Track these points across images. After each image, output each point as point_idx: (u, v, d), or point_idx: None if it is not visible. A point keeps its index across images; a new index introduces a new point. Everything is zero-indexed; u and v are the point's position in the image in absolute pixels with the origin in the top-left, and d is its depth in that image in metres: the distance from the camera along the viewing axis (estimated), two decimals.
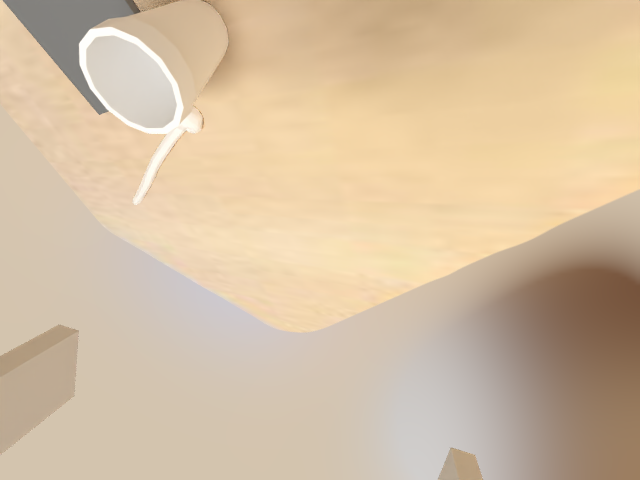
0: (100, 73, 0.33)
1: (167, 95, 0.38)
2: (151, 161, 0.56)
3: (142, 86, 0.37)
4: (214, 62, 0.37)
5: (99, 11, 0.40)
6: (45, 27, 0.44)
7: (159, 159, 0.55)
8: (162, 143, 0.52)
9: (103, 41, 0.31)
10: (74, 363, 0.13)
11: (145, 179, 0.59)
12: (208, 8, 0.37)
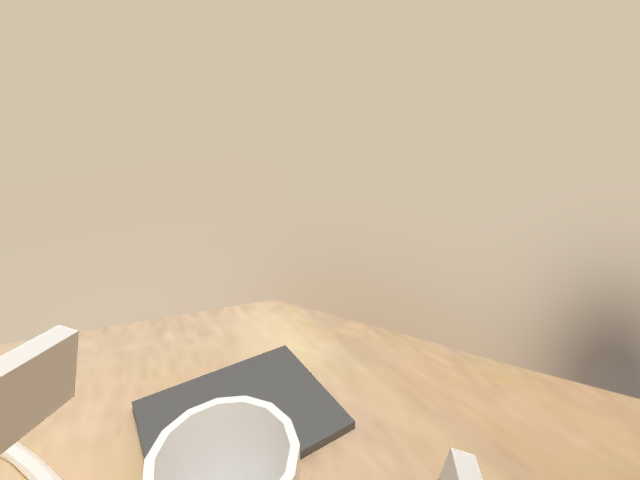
0: (230, 415, 0.27)
1: None
2: (33, 455, 0.35)
3: (196, 467, 0.27)
4: None
5: None
6: (231, 381, 0.46)
7: (32, 470, 0.34)
8: None
9: (266, 430, 0.27)
10: (74, 363, 0.13)
11: None
12: None
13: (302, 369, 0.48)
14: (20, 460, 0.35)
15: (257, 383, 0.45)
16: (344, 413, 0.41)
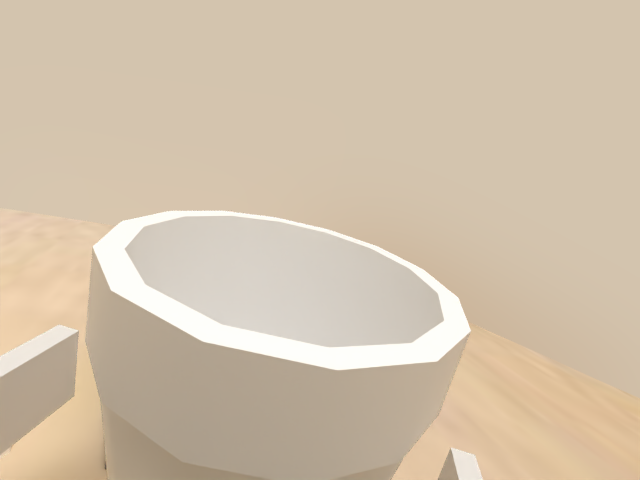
0: (294, 255, 0.14)
1: None
2: None
3: None
4: None
5: None
6: None
7: None
8: None
9: (355, 297, 0.14)
10: (74, 363, 0.13)
11: None
12: None
13: None
14: None
15: None
16: None
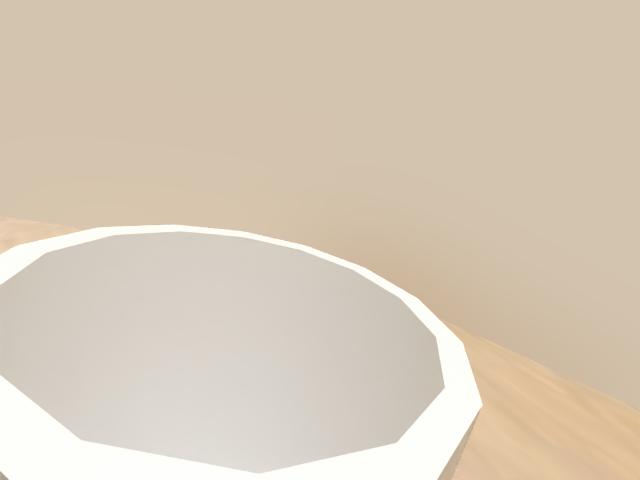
0: (263, 277, 0.12)
1: (79, 437, 0.09)
2: None
3: (155, 370, 0.11)
4: None
5: None
6: None
7: None
8: None
9: (336, 328, 0.11)
10: None
11: None
12: None
13: None
14: None
15: None
16: None
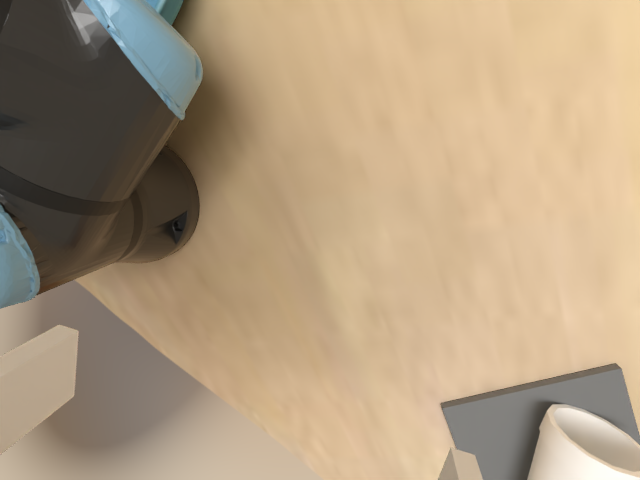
0: (560, 417, 0.42)
1: None
2: None
3: None
4: None
5: (539, 418, 0.43)
6: None
7: None
8: None
9: (580, 427, 0.42)
10: (74, 363, 0.13)
11: None
12: None
13: None
14: None
15: (522, 472, 0.45)
16: (448, 417, 0.45)
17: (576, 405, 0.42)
